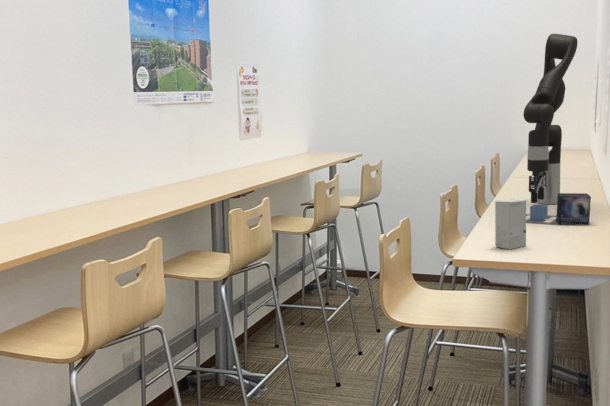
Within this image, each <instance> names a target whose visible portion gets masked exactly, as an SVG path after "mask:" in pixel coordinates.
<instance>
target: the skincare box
mask: <svg viewBox="0 0 610 406" xmlns="http://www.w3.org/2000/svg"><path fill="white" fill-rule="evenodd" d="M494 205H495V207H494V208H495V212H494V213H495V214H494V215H495V220H494V221H495V223H494V224H495V228H494V229H495V233H494V235H495V236H494V240H495V245H494V246H495V247H496V248H500V249H501V248H502V249H505V250H512V249H517V248H520V247H526V246H527V223H526V214H527V199H521V198H520V199H519V198H517V199H516V198H509V199H508V198H507V199H499V200H495V204H494Z"/></svg>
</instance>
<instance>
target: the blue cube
mask: <svg viewBox="0 0 610 406" xmlns="http://www.w3.org/2000/svg"><path fill="white" fill-rule="evenodd" d="M548 205H549V204H537V203H533V205H531V206H529V214H530V220H545V219H547V218H548V216H549V215H548V210H549V209H548Z"/></svg>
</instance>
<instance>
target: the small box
mask: <svg viewBox="0 0 610 406" xmlns="http://www.w3.org/2000/svg"><path fill="white" fill-rule="evenodd" d="M591 199H592V196H591V195H589V193H587V192H586V193H584V192H583V193H581V192H580V193H576V192H575V193H574V192H573V193H571V192H563V193H562V192H560V193H558V198H557V204H556V216H557V218H556V221H557V222H558V223H559V224H561V225H583V226H584V225H585V226H586V225H590V218H591V217H590V215H591Z"/></svg>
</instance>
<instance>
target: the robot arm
mask: <svg viewBox="0 0 610 406" xmlns="http://www.w3.org/2000/svg"><path fill="white" fill-rule="evenodd" d="M577 48H578V38H577V37H576V36H573V35H567V34H561V33H551V34H549V35H548V37H547V39H546V43H545V48H544V65H543V75H542V78H541V79H540V81H539V83H538V86H537V88H536V91H535V94H533V96H532V97H531V99H530V100H529V101H528V102H527V104H526V105H525V107H524V109H523V119H524V121H525V122H526V123H528V124H535V127H534V129H532V130H530V131H528V136H527V137H528V140H527V142H528V144H527V147H528V148H527V160H526V161H527V164H526V165H527V167H526V169H527V171H529V172H531V173H532V174H531V175H529V176H528V192H529V193H530V203H532V204H539V205H557V198H558V193H561V153H562V140H563V139H562V138H563V137H562V136H563V133H562V132H563V130H562V127H561V125H559V124H552V122H553V120H554V116H555V113H556V112H557V111H558V110H559V108H561V106H562V105H563V104H564V99H565V92H566V83H565V81H564V79H563V78H564V77H565V75H566V72H567V71H568V69H569V67H570V65H571V63H572V61H573V59H574V58H575V55H576V52H577ZM555 60H561V61H559V63H558V64H557V65H556V61H555ZM549 148H551V149H550V150H549Z"/></svg>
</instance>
